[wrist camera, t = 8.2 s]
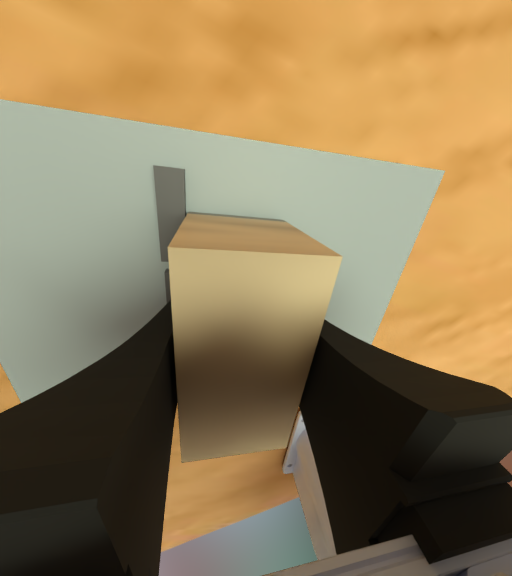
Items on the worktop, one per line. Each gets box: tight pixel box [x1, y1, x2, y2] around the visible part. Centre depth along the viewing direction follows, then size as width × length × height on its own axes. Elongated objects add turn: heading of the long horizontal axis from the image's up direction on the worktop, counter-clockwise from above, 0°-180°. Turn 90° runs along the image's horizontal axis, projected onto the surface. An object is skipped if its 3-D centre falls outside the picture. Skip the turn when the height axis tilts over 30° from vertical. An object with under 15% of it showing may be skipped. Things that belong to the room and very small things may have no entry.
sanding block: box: [168, 212, 343, 463], centre depth 9 cm, size 8×4×5 cm, turn 173°
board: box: [0, 99, 445, 403], centre depth 12 cm, size 14×20×2 cm
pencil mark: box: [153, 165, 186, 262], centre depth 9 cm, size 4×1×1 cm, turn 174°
